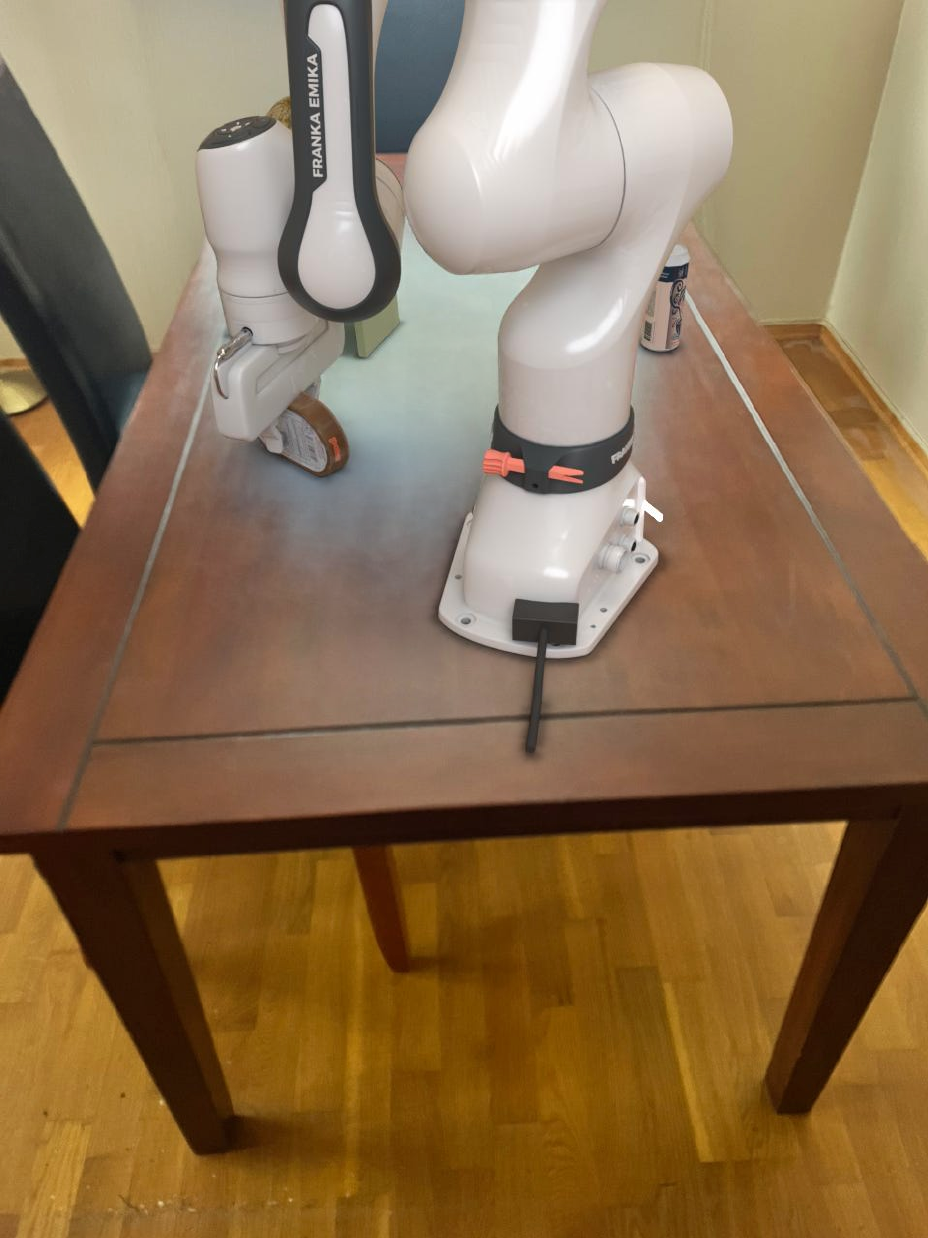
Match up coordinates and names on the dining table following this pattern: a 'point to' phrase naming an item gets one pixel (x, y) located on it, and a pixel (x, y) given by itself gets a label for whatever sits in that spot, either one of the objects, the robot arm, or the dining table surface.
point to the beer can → (667, 304)
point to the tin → (312, 436)
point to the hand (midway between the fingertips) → (294, 432)
